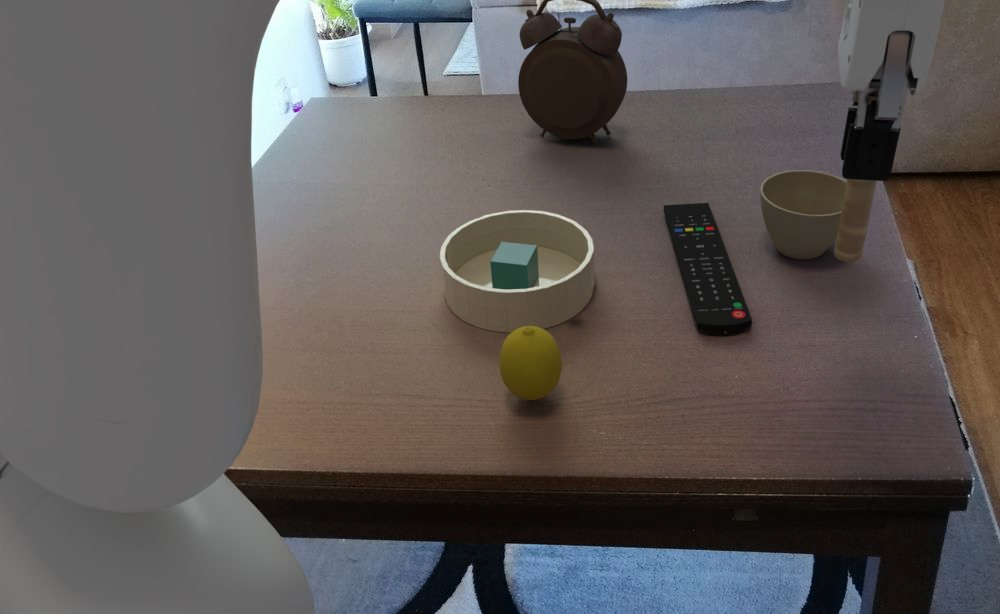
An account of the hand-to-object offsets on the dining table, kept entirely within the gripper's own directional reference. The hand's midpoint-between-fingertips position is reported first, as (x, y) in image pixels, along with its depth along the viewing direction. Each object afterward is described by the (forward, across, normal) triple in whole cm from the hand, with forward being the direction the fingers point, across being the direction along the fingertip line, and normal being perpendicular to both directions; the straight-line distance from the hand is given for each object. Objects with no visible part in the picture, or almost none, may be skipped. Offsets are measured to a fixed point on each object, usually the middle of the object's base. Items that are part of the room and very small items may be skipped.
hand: (864, 167), depth 63 cm
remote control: (+23, -20, -12) cm, 33 cm away
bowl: (+23, -13, -31) cm, 41 cm away
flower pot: (+23, -26, -2) cm, 35 cm away
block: (+23, -13, -31) cm, 40 cm away
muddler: (+8, 0, 0) cm, 8 cm away
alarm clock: (+23, -51, -32) cm, 65 cm away
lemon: (+23, +4, -25) cm, 34 cm away
